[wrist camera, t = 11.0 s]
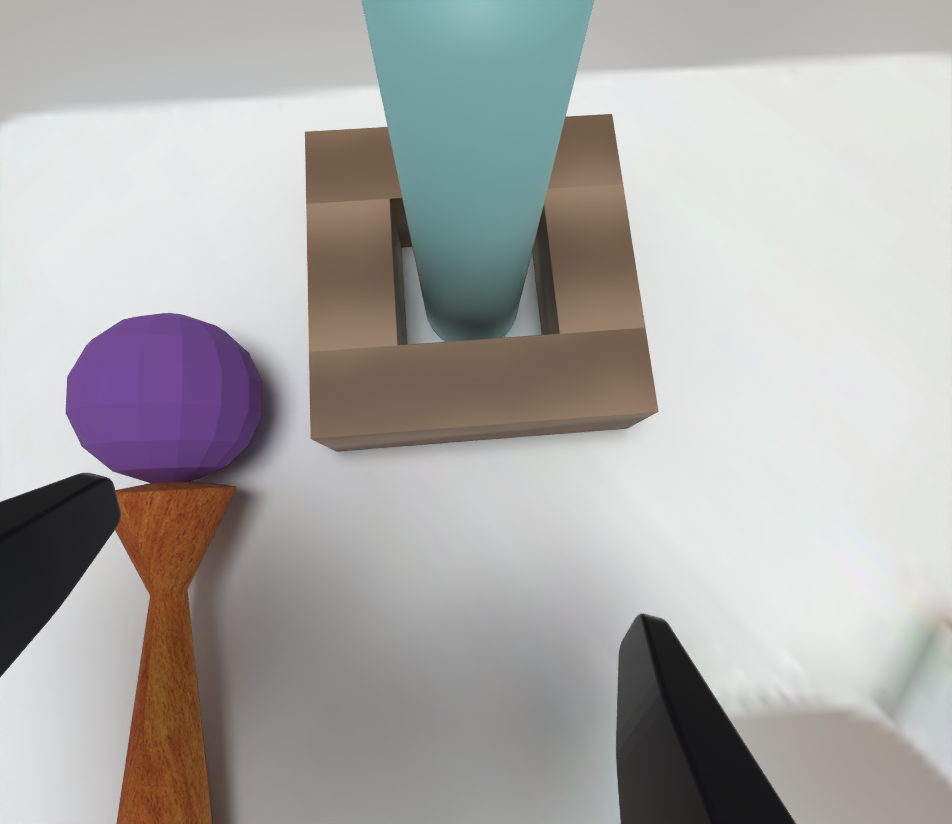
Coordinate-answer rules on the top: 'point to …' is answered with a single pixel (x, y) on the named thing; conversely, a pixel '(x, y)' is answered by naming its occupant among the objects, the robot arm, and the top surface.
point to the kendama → (166, 521)
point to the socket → (472, 361)
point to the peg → (474, 141)
